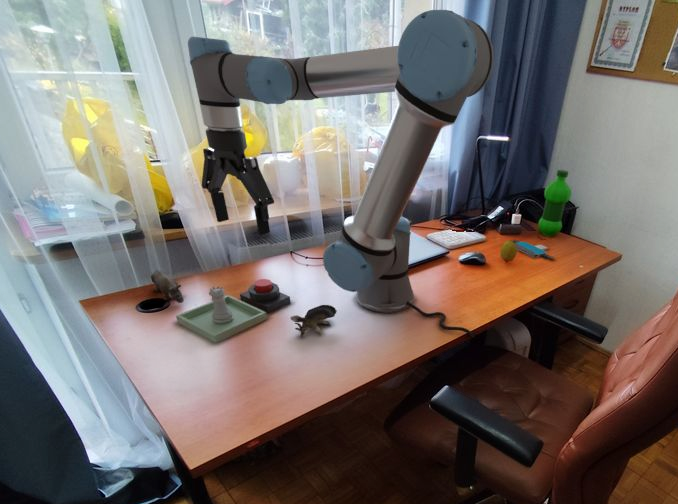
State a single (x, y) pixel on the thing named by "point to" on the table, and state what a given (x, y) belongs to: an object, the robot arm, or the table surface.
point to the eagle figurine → (314, 318)
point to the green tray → (215, 332)
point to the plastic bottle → (554, 204)
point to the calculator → (455, 238)
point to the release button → (263, 285)
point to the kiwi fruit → (508, 251)
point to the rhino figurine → (166, 285)
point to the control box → (265, 299)
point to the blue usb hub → (532, 249)
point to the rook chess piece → (220, 306)
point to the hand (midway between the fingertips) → (243, 227)
